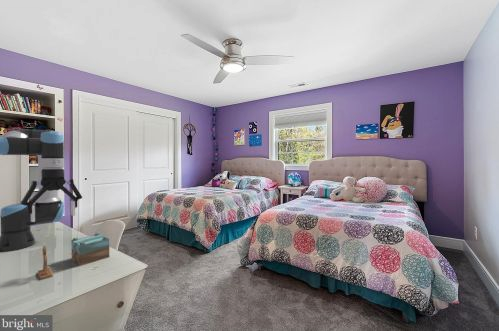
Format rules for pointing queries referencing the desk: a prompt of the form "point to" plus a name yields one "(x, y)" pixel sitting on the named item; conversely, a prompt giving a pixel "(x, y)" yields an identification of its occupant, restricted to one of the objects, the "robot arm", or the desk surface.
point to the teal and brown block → (90, 249)
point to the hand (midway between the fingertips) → (54, 218)
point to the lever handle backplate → (44, 267)
